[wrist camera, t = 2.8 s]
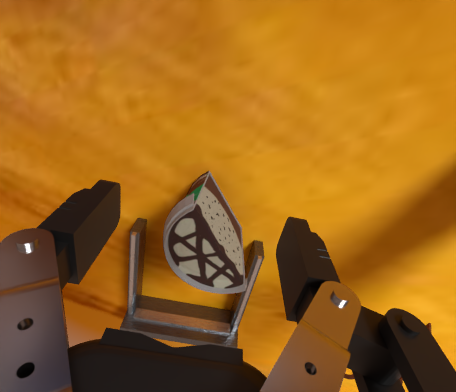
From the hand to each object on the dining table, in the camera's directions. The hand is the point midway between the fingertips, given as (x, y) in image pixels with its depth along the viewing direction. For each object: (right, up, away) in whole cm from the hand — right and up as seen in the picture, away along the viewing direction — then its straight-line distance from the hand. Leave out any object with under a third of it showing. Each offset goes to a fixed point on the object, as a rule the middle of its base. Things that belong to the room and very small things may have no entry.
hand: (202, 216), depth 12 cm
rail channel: (-4, -11, +30) cm, 32 cm away
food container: (-2, -1, +24) cm, 24 cm away
